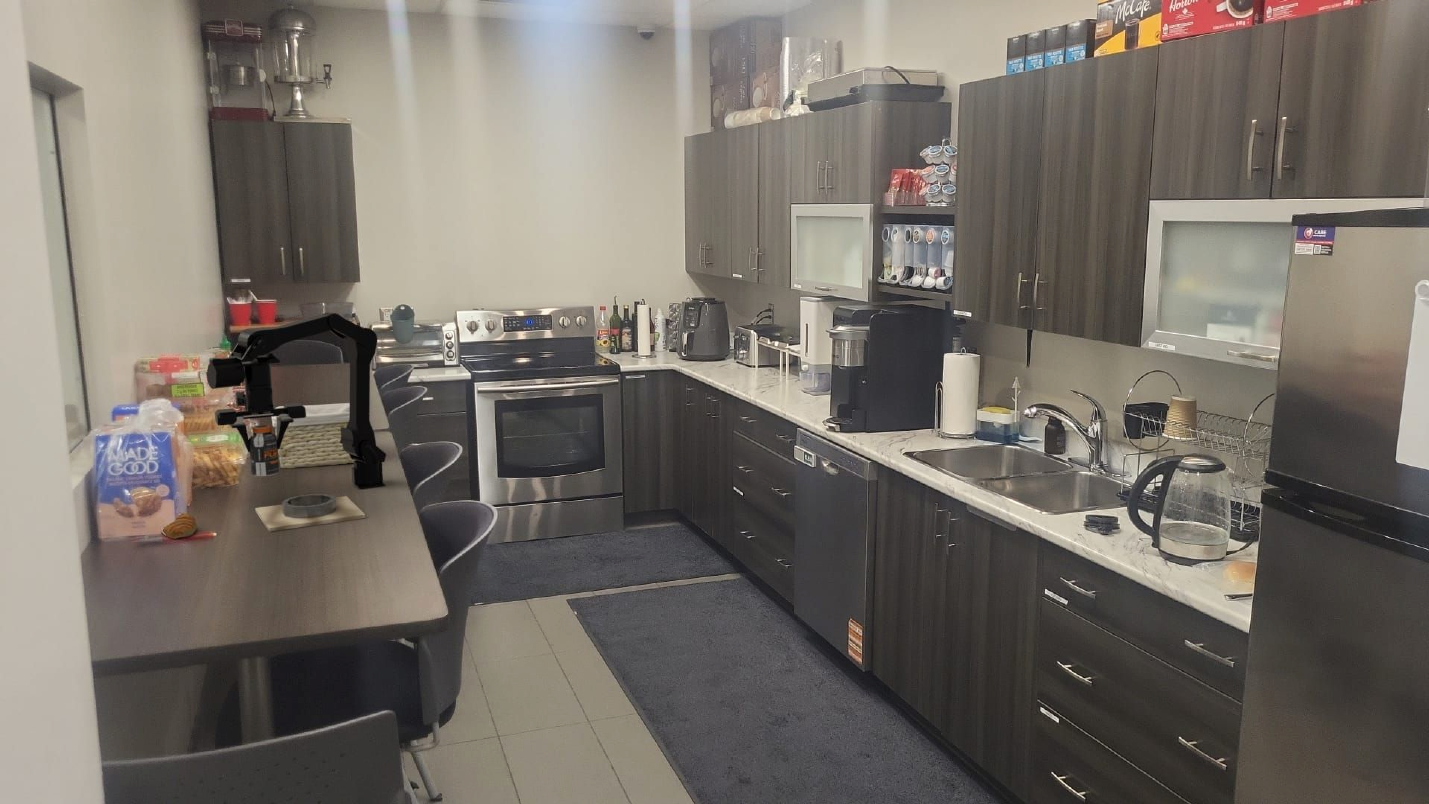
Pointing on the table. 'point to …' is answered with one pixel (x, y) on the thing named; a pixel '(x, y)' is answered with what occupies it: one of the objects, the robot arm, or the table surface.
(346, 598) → the table surface
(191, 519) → the pastry
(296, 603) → the table surface
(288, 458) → the storage basket
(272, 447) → the pill bottle
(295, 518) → the ring holder
